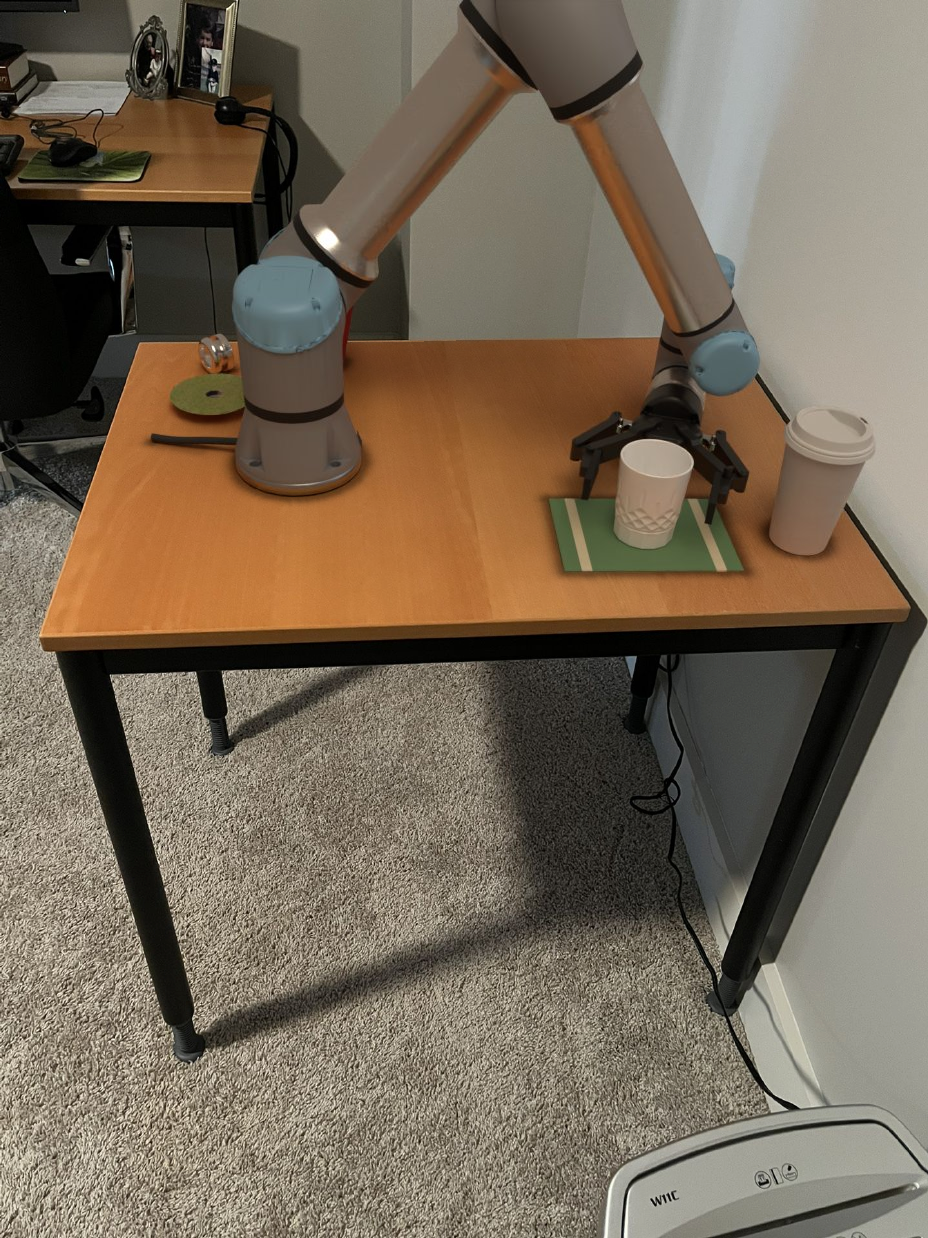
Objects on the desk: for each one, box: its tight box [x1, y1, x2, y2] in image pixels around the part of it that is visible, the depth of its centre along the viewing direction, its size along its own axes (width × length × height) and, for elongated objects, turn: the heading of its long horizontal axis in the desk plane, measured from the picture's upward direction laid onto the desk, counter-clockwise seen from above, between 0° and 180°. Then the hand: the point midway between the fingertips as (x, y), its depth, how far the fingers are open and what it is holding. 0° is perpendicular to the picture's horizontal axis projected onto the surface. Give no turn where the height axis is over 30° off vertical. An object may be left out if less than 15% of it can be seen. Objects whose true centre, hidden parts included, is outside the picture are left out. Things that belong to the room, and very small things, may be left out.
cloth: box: [548, 498, 745, 573], centre depth 114 cm, size 20×14×1 cm
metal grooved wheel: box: [197, 333, 235, 374], centre depth 138 cm, size 5×3×5 cm, turn 41°
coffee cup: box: [768, 405, 876, 556], centre depth 109 cm, size 10×10×15 cm
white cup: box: [614, 439, 694, 549], centre depth 110 cm, size 8×8×10 cm
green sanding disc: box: [169, 372, 245, 416], centre depth 131 cm, size 11×11×2 cm
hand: (647, 501), depth 107 cm, fingers open, 13 cm apart
